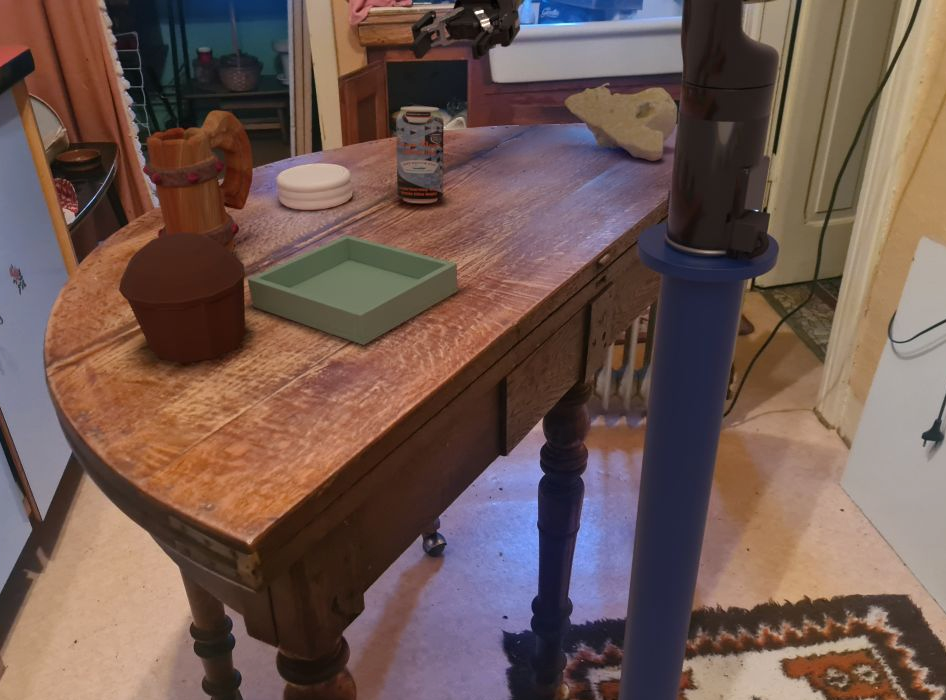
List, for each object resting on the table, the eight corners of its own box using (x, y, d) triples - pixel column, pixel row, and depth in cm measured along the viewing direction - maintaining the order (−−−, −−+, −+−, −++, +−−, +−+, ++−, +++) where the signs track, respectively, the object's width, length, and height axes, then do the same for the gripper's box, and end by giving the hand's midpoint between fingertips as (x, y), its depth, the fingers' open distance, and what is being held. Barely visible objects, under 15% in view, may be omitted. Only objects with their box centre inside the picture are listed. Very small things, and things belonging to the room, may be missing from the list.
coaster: (269, 195, 118) (265, 170, 116) (337, 183, 122) (333, 158, 120) (294, 216, 111) (290, 189, 109) (364, 202, 115) (362, 175, 113)
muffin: (260, 360, 78) (240, 256, 73) (134, 378, 76) (103, 273, 71) (253, 307, 88) (235, 212, 82) (141, 322, 86) (114, 226, 80)
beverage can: (393, 209, 112) (385, 113, 105) (406, 191, 118) (399, 99, 111) (439, 210, 111) (434, 114, 104) (451, 192, 117) (447, 100, 110)
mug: (201, 280, 94) (170, 140, 86) (148, 267, 98) (113, 132, 89) (286, 236, 105) (265, 108, 96) (236, 226, 108) (212, 102, 100)
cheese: (692, 167, 129) (662, 86, 133) (692, 141, 122) (661, 55, 126) (594, 202, 132) (568, 120, 136) (589, 177, 125) (562, 93, 129)
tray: (458, 291, 90) (456, 263, 88) (363, 345, 80) (360, 315, 79) (350, 260, 98) (346, 234, 96) (252, 306, 88) (247, 278, 86)
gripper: (440, -25, 122) (391, 23, 113) (533, -28, 117) (490, 22, 107) (449, 29, 127) (403, 79, 118) (539, 29, 122) (498, 81, 113)
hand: (445, 52), depth 113 cm, fingers open, 8 cm apart
